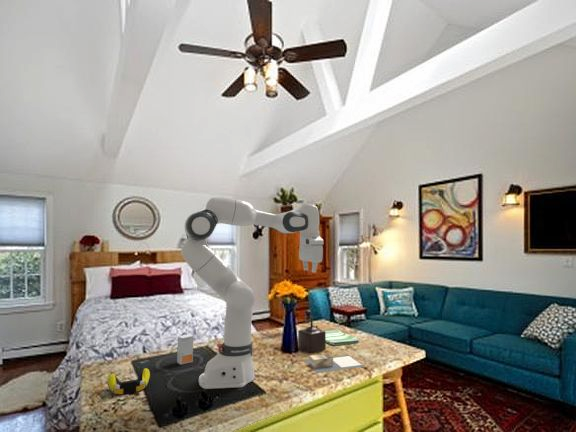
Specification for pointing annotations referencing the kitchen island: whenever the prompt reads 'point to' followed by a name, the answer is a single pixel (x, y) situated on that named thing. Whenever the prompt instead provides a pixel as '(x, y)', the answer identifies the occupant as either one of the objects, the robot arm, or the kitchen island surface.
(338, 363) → the mat
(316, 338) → the manual coffee grinder
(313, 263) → the robot arm
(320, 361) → the tan rectangular block
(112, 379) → the gaming controller
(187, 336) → the skincare box
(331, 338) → the dish towel
